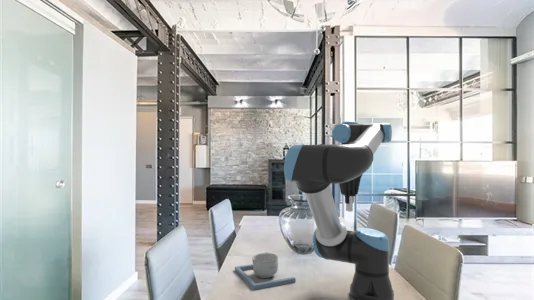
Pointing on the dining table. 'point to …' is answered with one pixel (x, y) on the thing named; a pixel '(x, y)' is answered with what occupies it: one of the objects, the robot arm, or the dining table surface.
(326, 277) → the dining table surface
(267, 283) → the tray frame
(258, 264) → the teacup
